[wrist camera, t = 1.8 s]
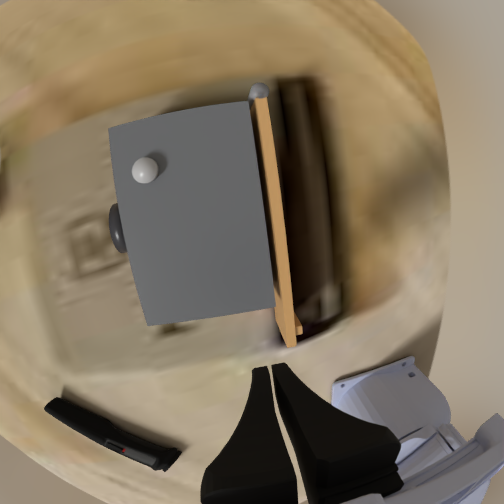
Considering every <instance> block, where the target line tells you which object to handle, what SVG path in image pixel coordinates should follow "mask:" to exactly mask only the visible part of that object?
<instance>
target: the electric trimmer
mask: <svg viewBox="0 0 504 504" xmlns="http://www.w3.org/2000/svg"><path fill="white" fill-rule="evenodd" d="M44 410H45V411H46V412H47V413H49V414H50V415H52V416H53V417H55V418H56V419H58V420H59V421H61V422H63V423H64V424H66V425H67V426H69V427H71V428H72V429H74V430H76V431H77V432H79V433H81V434H82V435H84V436H86V437H88V438H89V439H91V440H93V441H95V442H97V443H98V444H100V445H103V446H104V447H106V448H108V449H110V450H113V451H115V452H117V453H119V454H121V455H123V456H125V457H128V458H130V459H132V460H135V461H137V462H139V463H142V464H144V465H147V466H149V467H151V468H152V469H153V470H155V471H156V470H162V469H163V471H164V472H166V471H167V470H168V469H169V468H170V467H171V466H172V464H173V463H174V462H175V461H176V460H177V459H178V457H179V456H180V455H181V453H182V452H179V451H178V452H177V448H172V449H170V450H168V449H165V448H162V447H159V446H156V445H154V444H151V443H149V442H146V441H144V440H141V439H139V438H137V437H134V436H132V435H130V434H127V433H125V432H123V431H121V430H119V429H116V428H115V427H114V426H113V425H112V424H111V423H110V421H108V420H106V419H104V418H102V417H100V416H97V415H95V414H93V413H91V412H88V411H86V410H84V409H82V408H80V407H78V406H75V405H73V404H71V403H69V402H67V401H65V400H63V399H61V398H58V397H56V398H54V399H53V400H51V401H50V402H49V403H48V404H47V405H46V406H45V408H44Z"/></svg>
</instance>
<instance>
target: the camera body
mask: <svg viewBox="0 0 504 504" xmlns="http://www.w3.org/2000/svg"><path fill="white" fill-rule="evenodd" d="M108 130H109V141H110V151H111V160H112V168H113V176H114V183H115V189H116V196H117V202H118V203H116V204H113V205H112V207H111V209H110V213H109V228H110V234H111V238H112V241H113V243H114V245H115V247H116V249H117V250H118V251H119V252H120V253H126V252H128V256H129V261H130V265H131V269H132V273H133V277H134V281H135V284H136V288H137V292H138V295H139V299H140V302H141V306H142V309H143V313H144V316H145V319H146V322H147V325H148V326H151V325H160V324H168V323H176V322H184V321H191V320H198V319H205V318H212V317H218V316H225V315H231V314H237V313H243V312H249V311H255V310H261V309H266V308H272V307H276V302H275V293H274V285H273V277H272V269H271V261H270V253H269V245H268V237H267V230H266V222H265V214H264V207H263V200H262V192H261V185H260V178H259V171H258V163H257V156H256V150H255V143H254V136H253V129H252V122H251V116H250V109H249V102H248V101H241V102H232V103H224V104H217V105H210V106H204V107H198V108H192V109H186V110H181V111H176V112H171V113H166V114H162V115H157V116H153V117H149V118H144V119H140V120H137V121H133V122H129V123H125V124H122V125H118V126H115V127H111V128H108Z"/></svg>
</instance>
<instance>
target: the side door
mask: <svg viewBox="0 0 504 504" xmlns="http://www.w3.org/2000/svg"><path fill="white" fill-rule="evenodd" d="M268 94H269V88H268V87H267V85H265V84H264V83H256V84H254V85H253V86H252V87H251V90H250V93H249V96H248V99H247V101H248V102H249V109H250V116H251V122H252V129H253V136H254V143H255V150H256V156H257V163H258V171H259V178H260V185H261V192H262V200H263V207H264V214H265V222H266V230H267V237H268V245H269V253H270V261H271V269H272V277H273V285H274V293H275V302H276V307H274V308H275V316H276V321H277V324H278V326H279V329H280V331H281V333H282V336H283V338H284V341H285V343H286V345H287V348H289V347H293V346H296V335H299V334H302V325H301V323H300V322H299V320H298V318H297V316H296V315H295V313H294V310H293V299H292V289H291V279H290V269H289V259H288V250H287V241H286V232H285V224H284V216H283V207H282V200H281V192H280V184H279V177H278V169H277V162H276V155H275V148H274V141H273V135H272V128H271V121H270V115H269V109H268V103H267V96H268Z"/></svg>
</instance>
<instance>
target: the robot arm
mask: <svg viewBox="0 0 504 504" xmlns="http://www.w3.org/2000/svg"><path fill="white" fill-rule="evenodd" d="M414 361H415V358H414V357H413V356H409V357H407V358H404V359H402V360H399V361H396V362H394V363H391V364H388V365H386V366H383V367H380V368H377V369H374V370H371V371H368V372H365V373H362V374H359V375H356V376H353V377H350V378H346V379H343V380H339V381H336V382H335V383H333V385H332V400H331V404H329V403H328V402H326V401H325V400H323V399H322V398H321V397H319V396H318V395H317V394H316V393H314V392H313V391H312V390H311V389H310V388H308V387H307V386H306V385H305V384H304V383H303V382H302V381H301V380H300V379H299V378H298V377H297V376H296V375H295V374H294V373H293V371H292V370H291V369H290V368H289V367H288V365H287V364H286V363H279V364H274V365H271V366H272V373H273V381H274V388H275V395H276V400H277V404H278V408H279V412H280V415H281V417H282V420H283V422H284V425H285V427H286V430H287V433H288V435H289V438H290V440H291V443H292V445H293V448H294V451H295V454H296V457H297V461H298V465H299V468H300V472H301V476H302V480H303V483H304V487H305V491H306V495H307V499H308V503H309V504H481V502H482V500H483V498H484V496H485V494H486V491H487V489H488V486H489V484H490V478H491V477H493V476H494V475H495V474H496V473H497V472H498V471H499V470H500V469H501V468H502V467H503V466H504V419H503V418H502V417H501V416H500V415H499V414H498V413H496V414H495V415H493V416H492V417H491V418H490V419H488V420H487V421H486V422H485V423H483V424H482V425H481V426H480V428H479V429H478V430H477V432H476V434H475V436H474V437H473V438H472V439H471V440H469V441H468V442H466V441H465V439H464V438H463V437H462V436H461V435H460V433H459V432H458V431H457V430H456V429H455V428H454V427H453V425H452V424H450V419H451V412H450V408H449V405H448V402H447V400H446V398H445V396H444V395H443V394H442V392H441V391H440V390H439V389H438V388H437V387H436V386H435V385H434V384H433V383H432V382H431V381H430V380H429V379H428V378H427V377H426V376H425V375H424V374H423V373H422V372H421V371H420V370H419V369H418V368H417V367H416V366H415V365H414ZM342 384H343V385H342ZM201 503H202V504H298V491H297V478H296V475H295V471H294V468H293V465H292V462H291V459H290V457H289V454H288V451H287V448H286V445H285V442H284V439H283V436H282V433H281V430H280V427H279V423H278V420H277V416H276V413H275V408H274V401H273V393H272V386H271V379H270V374H269V371H268V368H267V366H264V367H258V368H254V369H253V370H252V383H251V388H250V392H249V397H248V400H247V403H246V406H245V409H244V412H243V414H242V417H241V419H240V421H239V423H238V425H237V427H236V429H235V431H234V433H233V435H232V436H231V438H230V440H229V441H228V443H227V444H226V445H225V447H224V448H223V449H222V451H221V452H220V454H219V455H218V456H217V457H216V458H215V459H214V460H213V462H212V463H211V464H210V465H209V466H208V467H207V468H206V470H205V473H204V476H203V479H202V484H201Z"/></svg>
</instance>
